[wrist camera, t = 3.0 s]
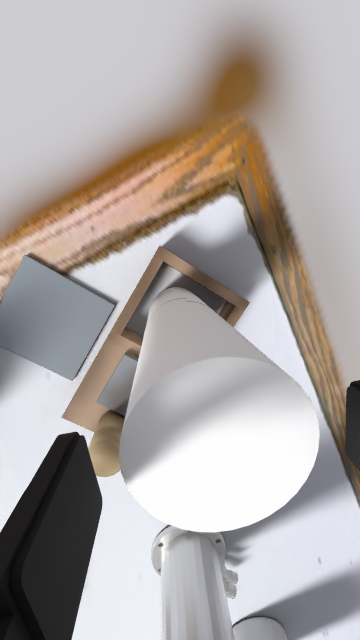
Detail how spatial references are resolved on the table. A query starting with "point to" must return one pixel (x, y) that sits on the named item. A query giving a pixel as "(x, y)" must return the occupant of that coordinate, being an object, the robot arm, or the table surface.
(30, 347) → the mat
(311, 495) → the table surface
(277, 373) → the cylindrical container
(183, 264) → the wooden divided tray
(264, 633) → the cylinder vase
